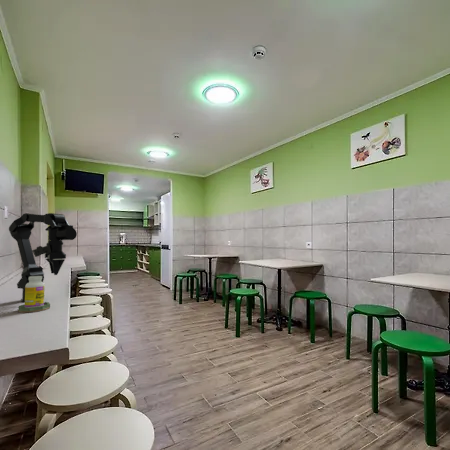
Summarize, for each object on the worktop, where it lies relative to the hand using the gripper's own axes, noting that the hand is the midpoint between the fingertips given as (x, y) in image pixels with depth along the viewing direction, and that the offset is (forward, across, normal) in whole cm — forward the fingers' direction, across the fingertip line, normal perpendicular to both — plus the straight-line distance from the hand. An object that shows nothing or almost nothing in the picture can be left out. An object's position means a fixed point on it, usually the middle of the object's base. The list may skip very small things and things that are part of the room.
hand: (54, 274), depth 126 cm
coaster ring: (+13, +10, -8) cm, 18 cm away
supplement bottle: (+13, +10, -8) cm, 18 cm away
